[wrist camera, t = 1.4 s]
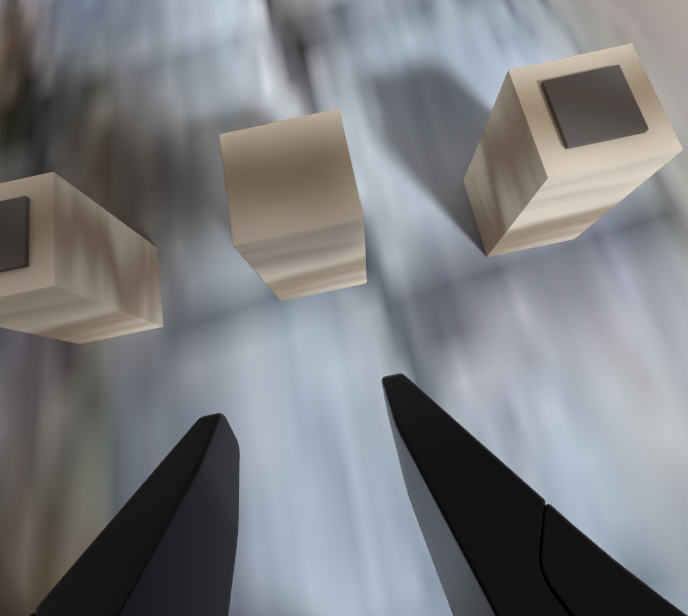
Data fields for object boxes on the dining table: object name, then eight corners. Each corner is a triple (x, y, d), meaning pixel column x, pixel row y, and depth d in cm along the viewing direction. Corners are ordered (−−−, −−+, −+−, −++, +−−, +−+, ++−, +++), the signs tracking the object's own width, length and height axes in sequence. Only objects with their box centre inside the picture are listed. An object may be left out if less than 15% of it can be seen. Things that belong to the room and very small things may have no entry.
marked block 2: (163, 326, 23) (49, 283, 15) (79, 343, 23) (-79, 310, 15) (156, 244, 24) (49, 164, 16) (77, 261, 24) (-69, 190, 16)
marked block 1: (573, 239, 22) (687, 146, 14) (486, 256, 22) (550, 174, 14) (544, 160, 23) (633, 34, 15) (462, 177, 24) (508, 62, 16)
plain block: (366, 283, 22) (363, 218, 15) (281, 301, 22) (233, 245, 15) (349, 205, 24) (338, 108, 16) (268, 222, 24) (218, 134, 16)
